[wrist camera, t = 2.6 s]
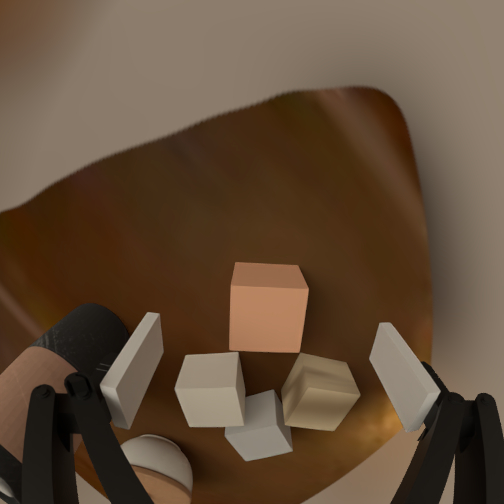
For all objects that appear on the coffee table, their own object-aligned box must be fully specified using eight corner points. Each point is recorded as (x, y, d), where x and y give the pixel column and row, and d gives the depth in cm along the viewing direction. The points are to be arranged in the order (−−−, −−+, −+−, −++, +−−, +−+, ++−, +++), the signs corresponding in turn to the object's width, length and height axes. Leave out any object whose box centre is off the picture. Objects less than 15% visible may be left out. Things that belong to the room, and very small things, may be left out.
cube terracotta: (291, 319, 25) (299, 352, 20) (233, 317, 25) (229, 350, 20) (297, 265, 23) (308, 289, 18) (235, 261, 23) (230, 285, 18)
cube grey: (288, 417, 28) (292, 451, 23) (246, 427, 29) (245, 461, 24) (273, 388, 27) (276, 424, 22) (228, 400, 27) (224, 435, 23)
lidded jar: (135, 410, 28) (110, 470, 19) (213, 448, 30) (205, 508, 21) (113, 443, 31) (92, 491, 22) (178, 474, 32) (168, 523, 23)
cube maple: (324, 397, 27) (333, 431, 22) (280, 389, 27) (284, 425, 22) (346, 361, 26) (360, 394, 21) (300, 352, 26) (308, 387, 21)
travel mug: (77, 357, 26) (-16, 486, 7) (63, 295, 24) (-73, 417, 5) (138, 370, 26) (60, 535, 7) (128, 305, 24) (-3, 481, 5)
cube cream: (245, 390, 27) (244, 425, 22) (197, 392, 27) (189, 426, 22) (238, 351, 26) (235, 386, 21) (186, 354, 26) (174, 388, 21)
